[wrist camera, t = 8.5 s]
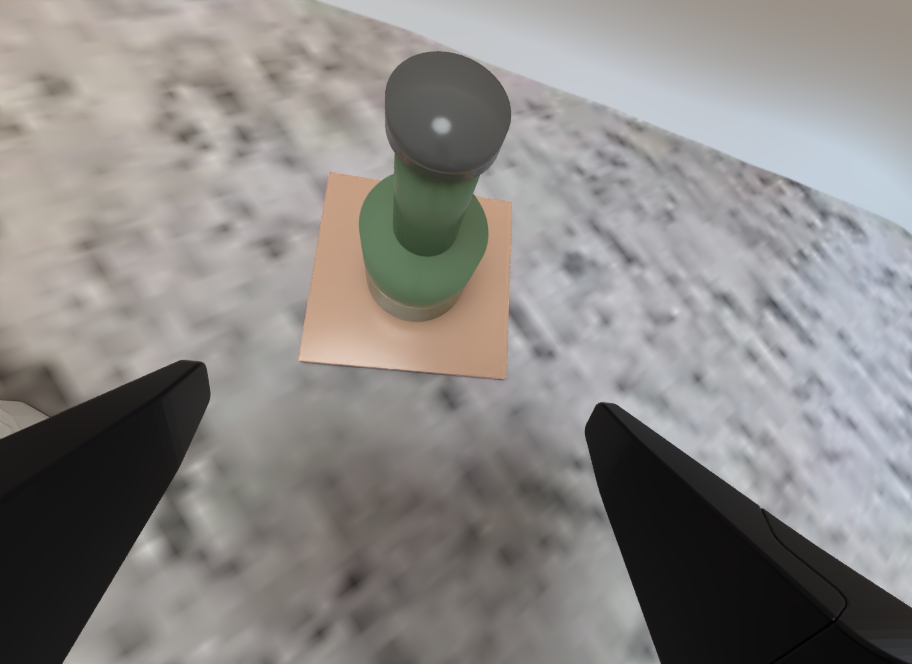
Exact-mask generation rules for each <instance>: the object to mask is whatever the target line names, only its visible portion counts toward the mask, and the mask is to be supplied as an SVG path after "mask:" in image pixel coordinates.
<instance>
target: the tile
mask: <svg viewBox="0 0 912 664" xmlns="http://www.w3.org/2000/svg"><path fill="white" fill-rule="evenodd" d="M379 182H380V180H374V179H368V178H362V177H356V176H350V175H344V174H338V173H332V172H329V177H328V183H327V189H326V195H325V201H324V207H323V214H322V220H321V226H320V232H319V238H318V244H317V250H316V256H315V262H314V268H313V274H312V280H311V286H310V292H309V298H308V304H307V310H306V316H305V322H304V328H303V334H302V340H301V346H300V352H299V358H298V361H300V362H305V363H317V364H328V365H340V366H351V367H362V368H374V369H385V370H397V371H408V372H420V373H431V374H443V375H454V376H466V377H477V378H488V379H500V380H504V379H506V367H507V338H508V309H509V281H510V252H511V223H512V202H507V201H501V200H495V199H489V198H483V197H477V196H475V197H476V198H477V199H478V201H479V202H480V204H481V206H482V208H483V210H484V212H485V215H486V218H487V223H488V233H489V236H488V244H487V248H486V251H485V253H484V256H483V258H482V260H481V261H480V263H479V265H478V266H477V268H476V270H475V271H474V273H473V275H472V277H471V278H470V280H469V282H468V283H467V285H466V287H465V288H464V290H463V292H462V294H461V295H460V297H459V299H458V300H457V302H456V303H455V304H454V306H453V307H452V308H451V309H450V310H449V311H448V312H446V313H445V314H443V315H442V316H440V317H438V318H435V319H432V320H428V321H422V322H411V321H406V320H402V319H399V318H397V317H394V316H392V315H391V314H389V313H387V312H386V311H385V310H383V309H382V308H381V307H380V306H379V305H378V304H377V302H376V301H375V300H374V298H373V297H372V295H371V293H370V291H369V288H368V284H367V280H366V273H365V266H364V260H363V253H362V247H361V240H360V233H359V215H360V211H361V207H362V205H363V202H364V200H365V198H366V197H367V195H368V194H369V192H370V191H371V190H372V189H373V188H374V187H375V186H376V185H377V184H378V183H379Z"/></svg>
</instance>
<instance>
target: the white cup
mask: <svg viewBox="0 0 912 664" xmlns="http://www.w3.org/2000/svg"><path fill="white" fill-rule="evenodd" d="M47 418H49V417H48V416H46V415H45V414H43V413H41V412H39V411H38V410H36V409H34V408H32V407H30V406H29V405H27V404H25V403H23V402H17V401H5V400H0V439H1V438H4V437H6V436H8V435H10V434H13V433H15V432H17V431H20V430H22V429H24V428H26V427H29V426H31V425H33V424H36V423H38V422H40V421H42V420H45V419H47Z"/></svg>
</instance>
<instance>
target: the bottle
mask: <svg viewBox="0 0 912 664" xmlns="http://www.w3.org/2000/svg"><path fill="white" fill-rule="evenodd" d="M510 122H511V107H510V102H509V99H508V96H507V94H506V92H505V90H504V88H503V86H502V85H501V83H500V82H499V81H498V80H497V78H496V77H495V76H494V75H493V74H492V73H491V72H490V71H489V70H487V69H486V68H485V67H484V66H482V65H481V64H479V63H477V62H476V61H474V60H472V59H470V58H467V57H465V56H462V55H459V54H455V53H450V52H439V51H437V52H426V53H421V54H418V55H415V56H413V57H410V58H408V59H407V60H405V61H404V62H402V63H401V64H400V65H399V66H398V67H397V68H396V69H395V70H394V71H393V73H392V74H391V76H390V78H389V80H388V82H387V86H386V90H385V128H386V134H387V138H388V141H389V143H390V146H391V147H392V149H393V151H394V152H395V161H394V174H393V175H390V176H388V177H387V178H385V179H383V180H382V181H380V182H379V183H378V184H377V185H376V186H375V187H374V188H373V189H372V190H371V191H370V192H369V194H368V195H367V197H366V198H365V200H364V202H363V205H362V207H361V211H360V215H359V233H360V240H361V247H362V253H363V260H364V266H365V273H366V280H367V284H368V288H369V291H370V293H371V295H372V297H373V298H374V300H375V301H376V302H377V304H378V305H379V306H380V307H381V308H382V309H383V310H385V311H386V312H387V313H389V314H391V315H392V316H394V317H397V318H399V319H402V320H406V321H411V322H422V321H428V320H432V319H435V318H438V317H440V316H442V315H443V314H445V313H446V312H448V311H449V310H450V309H451V308H452V307H453V306H454V304H455V303H456V302H457V300H458V299H459V297H460V295H461V294H462V292H463V290H464V288H465V287H466V285H467V283H468V282H469V280H470V278H471V277H472V275H473V273H474V271H475V270H476V268H477V266H478V265H479V263H480V261H481V260H482V258H483V256H484V253H485V251H486V248H487V244H488V236H489V233H488V223H487V218H486V215H485V212H484V210H483V208H482V206H481V204H480V202H479V201H478V199H477V198H476V197H475V195H474V194H473V192H474V190H475V187H476V184H477V182H478V179H479V176H480V174H482V173H484V172H485V171H486V170H487V169H488V168H489V167H490V166H491V165H492V164H493V163H494V161H495V160H496V158H497V156H498V153H499V151H500V149H501V146H502V144H503V142H504V139H505V137H506V134H507V132H508V130H509V126H510Z"/></svg>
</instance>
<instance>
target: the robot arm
mask: <svg viewBox="0 0 912 664" xmlns="http://www.w3.org/2000/svg"><path fill="white" fill-rule="evenodd" d="M210 394H211V393H210V386H209V379H208V373H207V368H206V365H205V364H204V363H203V362H201V361H191V360H180V361H177V362H175V363H173V364H170V365H168V366H166V367H163V368H161V369H159V370H157V371H154V372H152V373H150V374H147V375H145V376H143V377H141V378H138V379H136V380H134V381H132V382H129V383H127V384H125V385H122V386H120V387H118V388H116V389H113V390H111V391H109V392H106V393H104V394H102V395H100V396H97V397H95V398H93V399H90V400H88V401H86V402H84V403H81V404H79V405H77V406H74V407H72V408H70V409H68V410H65V411H63V412H61V413H58V414H56V415H54V416H52V417H49V418H47V419H45V420H42V421H40V422H38V423H36V424H33V425H31V426H29V427H26V428H24V429H22V430H20V431H17V432H15V433H13V434H10V435H8V436H6V437H4V438H1V439H0V664H62V663H63V662H64V660H65V658H66V657H67V655H68V653H69V652H70V650H71V648H72V647H73V645H74V643H75V642H76V640H77V638H78V637H79V635H80V633H81V632H82V630H83V628H84V627H85V625H86V623H87V622H88V620H89V618H90V617H91V615H92V613H93V612H94V610H95V608H96V607H97V605H98V603H99V602H100V600H101V598H102V597H103V595H104V593H105V592H106V590H107V588H108V587H109V585H110V583H111V582H112V580H113V578H114V577H115V575H116V573H117V572H118V570H119V568H120V566H121V565H122V563H123V561H124V560H125V558H126V556H127V555H128V553H129V551H130V550H131V548H132V546H133V545H134V543H135V541H136V540H137V538H138V536H139V535H140V533H141V531H142V530H143V528H144V526H145V525H146V523H147V521H148V520H149V518H150V516H151V515H152V513H153V511H154V510H155V508H156V506H157V505H158V503H159V501H160V500H161V498H162V496H163V495H164V493H165V491H166V490H167V488H168V486H169V485H170V483H171V481H172V480H173V478H174V476H175V474H176V473H177V471H178V469H179V467H180V465H181V463H182V461H183V459H184V457H185V455H186V452H187V450H188V448H189V446H190V444H191V441H192V439H193V437H194V435H195V432H196V430H197V428H198V426H199V424H200V421H201V419H202V417H203V415H204V413H205V410H206V408H207V406H208V404H209V401H210ZM585 437H586V441H587V445H588V449H589V453H590V457H591V461H592V465H593V469H594V473H595V477H596V481H597V485H598V488H599V492H600V495H601V498H602V501H603V504H604V507H605V509H606V512H607V515H608V518H609V520H610V523H611V526H612V529H613V532H614V534H615V537H616V540H617V543H618V546H619V548H620V551H621V554H622V557H623V560H624V562H625V565H626V568H627V571H628V573H629V576H630V579H631V582H632V585H633V587H634V590H635V593H636V596H637V599H638V601H639V604H640V607H641V610H642V612H643V615H644V618H645V621H646V624H647V626H648V629H649V632H650V635H651V638H652V640H653V643H654V646H655V649H656V651H657V654H658V657H659V660H660V663H661V664H912V608H911V607H910V606H908V605H907V604H905V603H904V602H902V601H901V600H899V599H897V598H896V597H894V596H893V595H891V594H890V593H888V592H887V591H885V590H884V589H882V588H881V587H879V586H877V585H876V584H874V583H873V582H871V581H870V580H868V579H867V578H865V577H864V576H862V575H861V574H859V573H857V572H856V571H854V570H853V569H851V568H850V567H848V566H847V565H845V564H844V563H842V562H841V561H839V560H838V559H836V558H835V557H833V556H832V555H830V554H829V553H827V552H826V551H824V550H822V549H821V548H819V547H818V546H816V545H815V544H813V543H812V542H810V541H809V540H808V539H806V538H805V537H803V536H802V535H800V534H799V533H797V532H796V531H795V530H793V529H792V528H790V527H789V526H787V525H786V524H784V523H783V522H782V521H780V520H779V519H777V518H776V517H775V516H773V515H772V514H770V513H769V512H768V511H766V510H765V509H763V508H760V506H759V505H758V504H756V503H755V502H753V501H752V500H750V499H749V498H748V497H746V496H745V495H743V494H742V493H741V492H739V491H738V490H736V489H735V488H734V487H732V486H731V485H729V484H728V483H726V482H725V481H724V480H722V479H721V478H719V477H718V476H717V475H715V474H714V473H712V472H711V471H710V470H708V469H707V468H705V467H704V466H702V465H701V464H700V463H698V462H697V461H695V460H694V459H693V458H691V457H690V456H688V455H687V454H686V453H684V452H683V451H681V450H680V449H679V448H677V447H676V446H674V445H673V444H671V443H670V442H669V441H667V440H666V439H664V438H663V437H662V436H660V435H659V434H657V433H656V432H655V431H653V430H652V429H650V428H649V427H647V426H646V425H645V424H643V423H642V422H640V421H639V420H638V419H636V418H635V417H633V416H632V415H631V414H629V413H628V412H626V411H625V410H624V409H622V408H621V407H619V406H618V405H616V404H614V403H605V402H600V403H598V404H597V405H596V406H595V408H594V410H593V412H592V414H591V416H590V418H589V420H588V422H587V424H586V426H585Z"/></svg>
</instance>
